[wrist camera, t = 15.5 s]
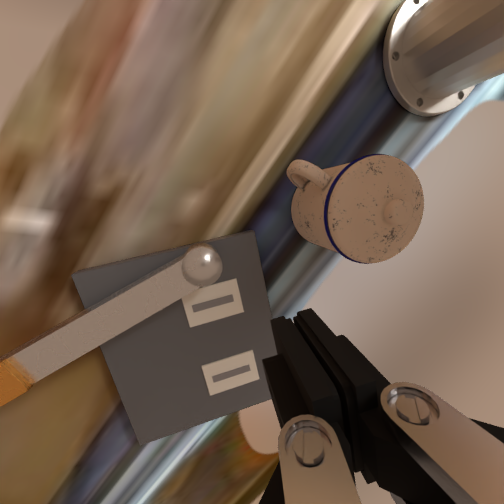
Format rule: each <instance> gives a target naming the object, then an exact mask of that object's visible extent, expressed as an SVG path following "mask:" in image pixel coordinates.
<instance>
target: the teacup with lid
mask: <svg viewBox="0 0 504 504" xmlns="http://www.w3.org/2000/svg"><path fill="white" fill-rule="evenodd" d="M287 176H288V178H289V179H290V181H291V182H292V183H293V184H294V185H296V186H297V189H296V191H295V193H294V196H293V200H292V205H291V214H292V220H293V223H294V226H295V228H296V229H297V231H298V232H299V234H300V235H301V236H302V237H303V238H304V239H306V240H307V241H309V242H311V243H313V244H316V245H319V246H321V247H324V248H327V249H329V250H332V251H335V252H337V253H340V254H341V255H342V256H344V257H345V258H347V259H349V260H351V261H354V262H358V263H364V264H367V263H368V264H369V263H377V262H381V261H385V260H387V259H389V258H391V257H393V256H395V255H396V254H398V253H399V252H401V251H402V250H403V249H404V248H405V247H406V246H407V245H408V244H409V242H410V241H411V240H412V239H413V237H414V235H415V234H416V232H417V230H418V228H419V225H420V222H421V219H422V215H423V209H424V197H423V190H422V187H421V184H420V181H419V179H418V177H417V175H416V174H415V172H414V171H413V170H412V169H411V168H410V167H409V166H408V165H407V164H406V163H405V162H403V161H401V160H400V159H398V158H396V157H392V156H389V155H384V154H371V155H367V156H363V157H361V158H358V159H356V160H354V161H353V162H351V163H347V164H343V165H339V166H335V167H330V168H326V169H320V168H319V167H317V166H316V165H314V164H312V163H310V162H307V161H305V160H294V161H293V162H291V164H290V165H289V167H288V169H287Z"/></svg>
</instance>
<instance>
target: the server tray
mask: <svg viewBox="0 0 504 504" xmlns="http://www.w3.org/2000/svg"><path fill="white" fill-rule="evenodd" d="M197 243H206V244H209V245H211V246H213V247H214V248H215V249H216V250H217V252H218V253H219V256H220V258H221V261H222V273H221V275H220V277H219V279H218V280H217V281H216V282H214V283H213V284H211V285H209V286H205V287H200V288H198V289H196V290H194V291H193V292H191V293H189V294H187V295H186V296H184V297H182V298H181V299H179V300H177V301H175V302H174V303H172V304H170V305H169V306H167V307H165V308H163V309H162V310H160V311H158V312H156V313H155V314H153V315H151V316H150V317H148V318H146V319H144V320H143V321H141V322H139V323H137V324H136V325H134V326H132V327H131V328H129V329H127V330H125V331H124V332H122V333H120V334H118V335H117V336H115V337H113V338H112V339H110V340H108V341H106V342H105V343H103V344H101V345H100V348H101V350H102V353H103V355H104V358H105V360H106V363H107V365H108V368H109V370H110V373H111V375H112V378H113V380H114V383H115V385H116V388H117V390H118V393H119V395H120V398H121V400H122V402H123V405H124V407H125V410H126V412H127V415H128V417H129V420H130V422H131V425H132V427H133V430H134V432H135V435H136V437H137V440H138V442H139V445H143V444H146V443H149V442H151V441H154V440H157V439H160V438H163V437H165V436H168V435H171V434H174V433H177V432H180V431H182V430H185V429H188V428H191V427H194V426H197V425H199V424H202V423H205V422H208V421H211V420H213V419H216V418H219V417H222V416H225V415H228V414H230V413H233V412H236V411H239V410H242V409H244V408H247V407H250V406H253V405H256V404H259V403H261V402H264V401H267V400H270V399H272V398H271V395H270V391H269V388H268V384H267V380H266V376H265V372H264V368H263V363H262V359H265V358H268V357H271V356H275V355H277V350H276V346H275V341H274V336H273V332H272V327H271V322H270V320H272V316H271V311H270V306H269V301H268V296H267V291H266V286H265V281H264V276H263V271H262V266H261V261H260V256H259V251H258V246H257V241H256V237H255V232H254V231H253V230H248V231H244V232H240V233H235V234H231V235H227V236H223V237H218V238H214V239H210V240H206V241H202V242H197ZM197 243H193V244H189V245H185V246H180V247H176V248H172V249H168V250H163V251H159V252H155V253H151V254H147V255H142V256H138V257H134V258H130V259H125V260H121V261H117V262H113V263H108V264H104V265H100V266H96V267H91V268H87V269H83V270H79V271H77V272H75V273H74V274H72V275H71V276H72V278H73V280H74V283H75V285H76V288H77V290H78V293H79V295H80V298H81V300H82V303H83V305H84V308H85V309H87V308H88V307H90V306H92V305H94V304H95V303H97V302H99V301H101V300H103V299H104V298H106V297H108V296H110V295H111V294H113V293H115V292H117V291H119V290H120V289H122V288H124V287H126V286H127V285H129V284H131V283H133V282H135V281H136V280H138V279H140V278H142V277H143V276H145V275H147V274H149V273H151V272H152V271H154V270H156V269H158V268H159V267H161V266H163V265H165V264H167V263H168V262H170V261H172V260H174V259H175V258H177V257H179V256H181V255H183V254H184V253H185V252H186V251H187V249H188V248H189V247H191V246H192V245H194V244H197Z"/></svg>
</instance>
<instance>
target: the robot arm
mask: <svg viewBox="0 0 504 504" xmlns="http://www.w3.org/2000/svg"><path fill="white" fill-rule="evenodd" d="M383 66H384V71H385V77H386V80H387V83H388V86H389V88H390V90H391V92H392V94H393V96H394V97H395V99H396V100H397V101H398V102H399V103H400V105H401V106H403V107H404V108H405V109H406V110H408V111H409V112H411V113H414V114H416V115H420V116H435V115H439V114H442V113H445V112H447V111H449V110H452V109H454V108H455V107H456V106H458V105H459V104H461V103H462V102H463V101H464V100H465V99H466V98H467V97H468V95H469V94H470V92H471V91H472V90H473V88H474V87H475V85H476V84H479V83H481V82H484V81H486V80H488V79H491V78H493V77H496V76H498V75H500V74H503V73H504V0H404V1H403V2H402V3H401V4H400V5H399V7H398V8H397V10H396V11H395V13H394V14H393V16H392V19H391V21H390V23H389V25H388V28H387V32H386V35H385V39H384V47H383ZM293 320H294V323H293V322H292V320H291V319H290V318H288V319H286V318H285V317H284V316H282V317H278V318H275V319H272V320H270V322H271V327H272V332H273V336H274V341H275V346H276V350H277V355H275V356H271V357H268V358H265V359H262V363H263V368H264V372H265V376H266V380H267V384H268V388H269V391H270V395H271V398H272V401H273V404H274V407H275V411H276V414H277V417H278V420H279V423H280V427H281V432H280V435H279V438H278V450H279V458H280V461H279V463H278V465H277V467H276V469H275V471H274V473H273V475H272V477H271V479H270V481H269V484H268V486H267V488H266V490H265V492H264V494H263V496H262V499H261V500H260V502H259V504H362V503H361V501H360V498H359V495H358V493H357V490H356V484H355V477H354V472H359V471H361V473H362V475H363V477H364V479H365V480H366V482H367V484H370V483H372V482H375V481H376V482H377V484H378V485H379V487H381V488H383V489H385V490H387V491H389V492H390V493H391V496H392V498H393V500H394V501H395V503H396V504H504V428H501V427H497V426H494V425H491V424H487V423H484V422H480V421H477V420H473V419H470V418H468V417H466V416H465V415H463V414H462V413H461V412H459V411H458V410H457V409H455V408H454V407H452V406H451V405H450V404H448V403H447V402H445V401H444V400H443V399H441V398H440V397H439V396H437V395H435V394H434V393H433V392H431V391H430V390H428V389H426V388H425V387H422V386H419V385H416V384H413V383H407V382H399V383H398V382H397V383H394V384H390V382H388V380H387V379H386V378H385V377H383V375H382V374H381V373H380V372H379V371H378V370H377V369H376V368H375V367H374V366H373V365H372V364H371V363H370V362H369V361H368V360H367V358H365V356H364V355H363V354H362V353H361V352H360V351H359V350H358V349H357V348H356V347H355V346H354V345H353V344H352V343H351V342H350V341H349V340H348V339H347V338H346V337H345V336H344V335H339V336H336V335H335V334H334V333H333V332H332V331H331V330H330V329H329V328H328V326H327V325H326V324H325V323H324V322H323V321H322V320H321V319H320V318H319V317H318V315H317V314H316V313H315V312H314V311H313V310H312V309H311V308H310V309H306V310H303V311H299V312H297V316H295V317H293Z"/></svg>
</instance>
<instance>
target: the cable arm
mask: <svg viewBox="0 0 504 504" xmlns="http://www.w3.org/2000/svg"><path fill="white" fill-rule="evenodd" d="M221 273H222V261H221V258H220V256H219V253H218V252H217V250H216V249H215V248H214V247H213V246H211V245H209V244H206V243H197V244H194V245H192V246H191V247H189V248H188V249H187V251H186V252H185V253H184V254H183V255H181V256H179V257H177V258H175V259H174V260H172V261H170V262H168V263H167V264H165V265H163V266H161V267H159V268H158V269H156V270H154V271H152V272H151V273H149V274H147V275H145V276H143V277H142V278H140V279H138V280H136V281H135V282H133V283H131V284H129V285H127V286H126V287H124V288H122V289H120V290H119V291H117V292H115V293H113V294H111V295H110V296H108V297H106V298H104V299H103V300H101V301H99V302H97V303H95V304H94V305H92V306H90V307H88V308H87V309H85V310H83V311H81V312H80V313H78V314H76V315H74V316H72V317H71V318H69V319H67V320H65V321H64V322H62V323H60V324H58V325H56V326H55V327H53V328H51V329H49V330H48V331H46V332H44V333H42V334H40V335H39V336H37V337H35V338H33V339H32V340H30V341H28V342H26V343H24V344H23V345H21V346H19V347H17V348H16V349H14V350H12V351H10V352H8V353H7V354H5V355H3V356H1V357H0V406H3V405H4V404H6V403H8V402H9V401H11V400H13V399H15V398H16V397H18V396H20V395H21V394H23V393H25V392H27V391H28V390H29V389H30V388H31V387H32V386H33V385H32V384H34V383H36V382H37V381H39V380H41V379H43V378H44V377H46V376H48V375H49V374H51V373H53V372H55V371H56V370H58V369H60V368H62V367H63V366H65V365H67V364H68V363H70V362H72V361H74V360H75V359H77V358H79V357H81V356H82V355H84V354H86V353H87V352H89V351H91V350H93V349H94V348H96V347H98V346H99V345H101V344H103V343H105V342H106V341H108V340H110V339H112V338H113V337H115V336H117V335H118V334H120V333H122V332H124V331H125V330H127V329H129V328H131V327H132V326H134V325H136V324H137V323H139V322H141V321H143V320H144V319H146V318H148V317H150V316H151V315H153V314H155V313H156V312H158V311H160V310H162V309H163V308H165V307H167V306H169V305H170V304H172V303H174V302H175V301H177V300H179V299H181V298H182V297H184V296H186V295H187V294H189V293H191V292H193V291H194V290H196V289H198V288H200V287H205V286H209V285H211V284H213V283H214V282H216V281H217V280H218V279H219V277H220V275H221Z"/></svg>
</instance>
